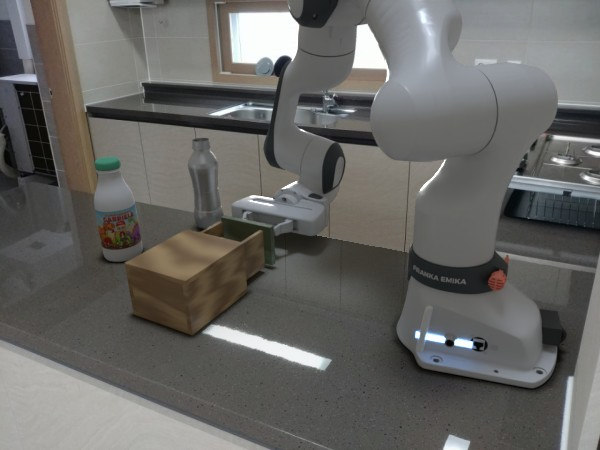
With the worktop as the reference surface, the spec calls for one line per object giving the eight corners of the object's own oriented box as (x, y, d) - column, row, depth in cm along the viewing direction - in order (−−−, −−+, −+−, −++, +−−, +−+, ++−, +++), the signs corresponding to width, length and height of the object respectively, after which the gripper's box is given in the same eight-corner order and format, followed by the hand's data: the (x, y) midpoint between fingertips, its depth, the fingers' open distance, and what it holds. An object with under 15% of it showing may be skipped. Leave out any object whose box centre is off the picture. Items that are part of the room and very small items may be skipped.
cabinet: (192, 276, 100) (186, 229, 96) (247, 292, 94) (243, 242, 90) (133, 314, 88) (124, 262, 84) (192, 335, 82) (185, 280, 78)
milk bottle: (97, 254, 109) (78, 159, 102) (133, 242, 114) (117, 151, 106) (113, 266, 104) (95, 168, 96) (150, 254, 109) (135, 158, 101)
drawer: (240, 242, 111) (238, 207, 108) (288, 253, 105) (286, 216, 102) (181, 280, 96) (176, 241, 93) (232, 295, 91) (229, 254, 88)
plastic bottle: (219, 233, 117) (210, 144, 109) (190, 231, 119) (179, 143, 111) (228, 221, 123) (221, 136, 115) (201, 220, 124) (191, 135, 116)
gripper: (252, 185, 119) (213, 204, 108) (334, 199, 109) (301, 222, 98) (253, 211, 121) (215, 233, 110) (334, 227, 112) (301, 253, 101)
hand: (256, 228), depth 104 cm, fingers closed on drawer, 6 cm apart
